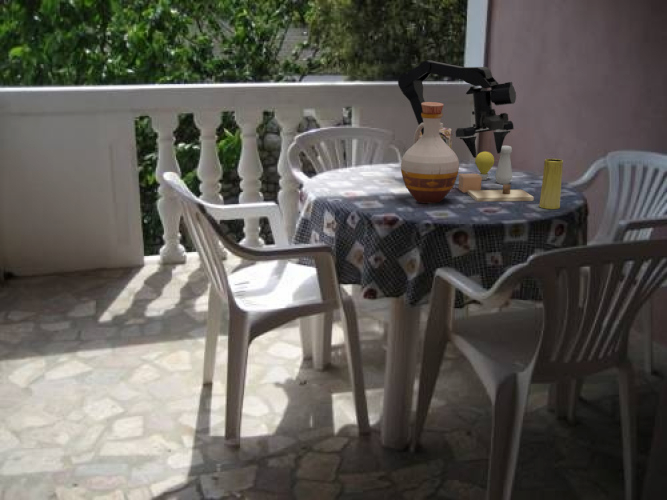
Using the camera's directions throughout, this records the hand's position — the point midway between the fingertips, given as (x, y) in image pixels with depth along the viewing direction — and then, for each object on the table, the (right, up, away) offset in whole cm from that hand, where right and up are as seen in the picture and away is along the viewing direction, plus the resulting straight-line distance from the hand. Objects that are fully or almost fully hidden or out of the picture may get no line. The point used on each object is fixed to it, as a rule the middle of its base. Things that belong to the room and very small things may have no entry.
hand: (486, 155), depth 232 cm
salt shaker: (+9, -8, +17) cm, 21 cm away
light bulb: (+4, -6, +23) cm, 24 cm away
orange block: (-5, -11, +5) cm, 13 cm away
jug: (-21, -15, -9) cm, 27 cm away
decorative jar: (-12, -1, +39) cm, 41 cm away
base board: (+3, -14, -5) cm, 15 cm away
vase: (+15, -18, -17) cm, 29 cm away
